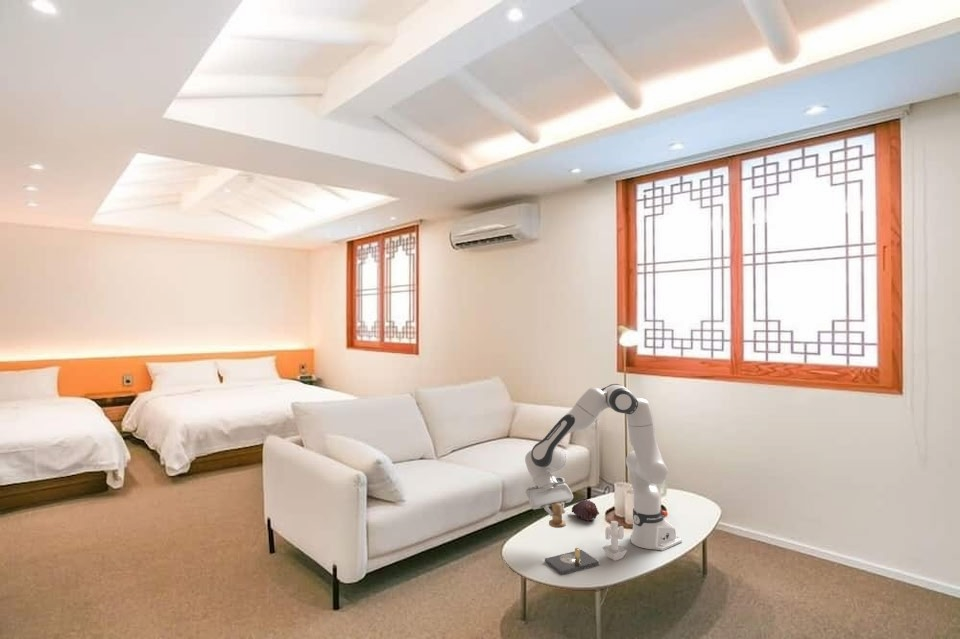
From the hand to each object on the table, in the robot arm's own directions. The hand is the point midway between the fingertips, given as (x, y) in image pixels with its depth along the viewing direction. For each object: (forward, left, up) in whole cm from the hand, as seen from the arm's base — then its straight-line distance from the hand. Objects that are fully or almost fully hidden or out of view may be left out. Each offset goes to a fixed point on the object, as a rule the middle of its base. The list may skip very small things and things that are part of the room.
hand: (557, 514), depth 224 cm
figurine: (-19, +13, -17) cm, 29 cm away
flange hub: (0, -1, -5) cm, 5 cm away
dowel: (0, +14, -15) cm, 21 cm away
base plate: (0, +10, -17) cm, 19 cm away
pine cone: (-34, -27, -17) cm, 46 cm away
